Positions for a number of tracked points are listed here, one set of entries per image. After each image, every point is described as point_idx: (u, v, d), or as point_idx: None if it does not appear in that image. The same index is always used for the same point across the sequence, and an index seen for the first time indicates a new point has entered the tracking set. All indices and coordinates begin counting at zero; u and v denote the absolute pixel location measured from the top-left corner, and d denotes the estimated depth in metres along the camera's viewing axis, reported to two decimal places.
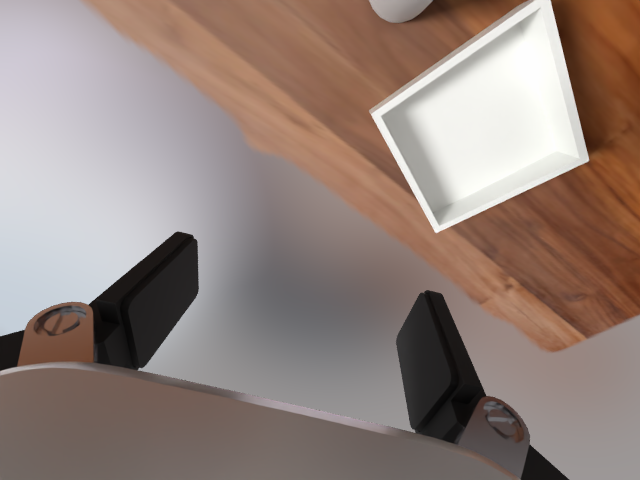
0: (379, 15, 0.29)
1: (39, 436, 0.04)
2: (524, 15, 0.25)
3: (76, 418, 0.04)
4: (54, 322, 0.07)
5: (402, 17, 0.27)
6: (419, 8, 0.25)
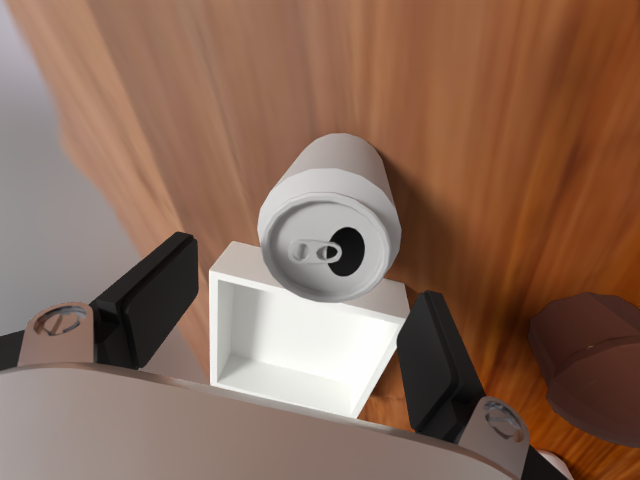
0: None
1: (39, 436, 0.04)
2: (385, 319, 0.24)
3: (76, 418, 0.04)
4: (54, 322, 0.07)
5: None
6: None
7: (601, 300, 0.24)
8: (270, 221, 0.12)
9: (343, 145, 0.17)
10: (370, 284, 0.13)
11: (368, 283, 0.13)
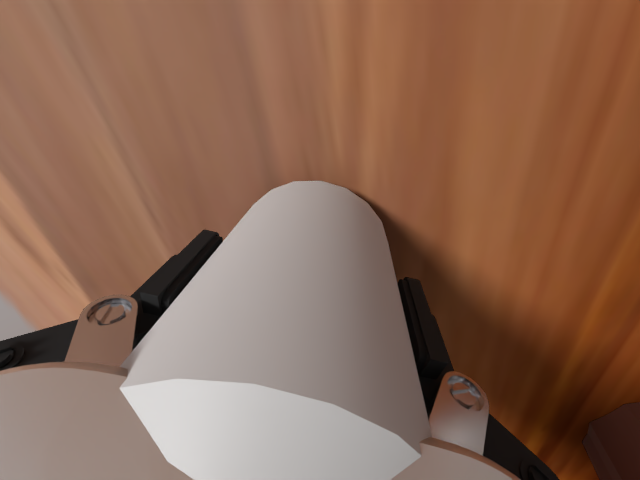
0: None
1: (39, 436, 0.04)
2: None
3: (76, 418, 0.04)
4: (103, 313, 0.07)
5: None
6: None
7: None
8: None
9: (307, 225, 0.08)
10: None
11: None
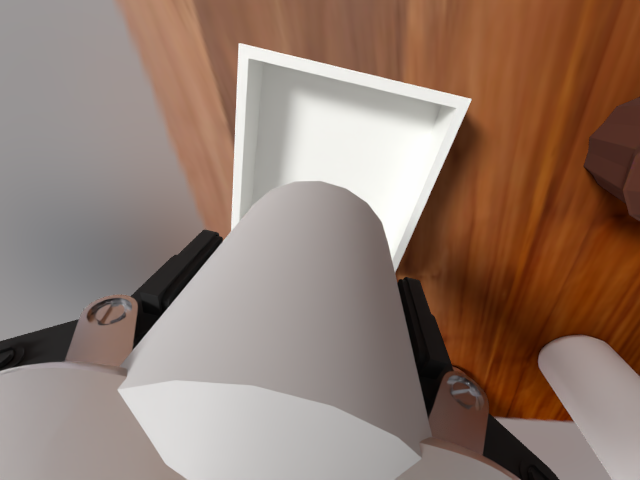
0: None
1: (39, 436, 0.04)
2: (441, 101, 0.21)
3: (76, 418, 0.04)
4: (104, 313, 0.07)
5: None
6: None
7: None
8: None
9: (307, 225, 0.08)
10: None
11: None
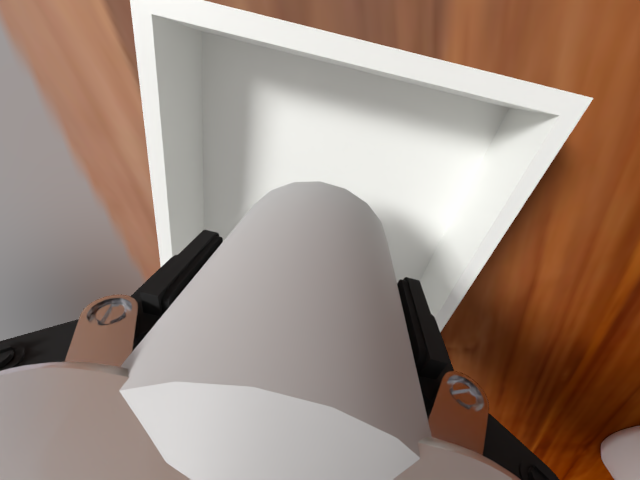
0: None
1: (39, 436, 0.04)
2: (530, 101, 0.11)
3: (76, 418, 0.04)
4: (104, 313, 0.07)
5: None
6: None
7: None
8: None
9: (307, 226, 0.08)
10: None
11: None
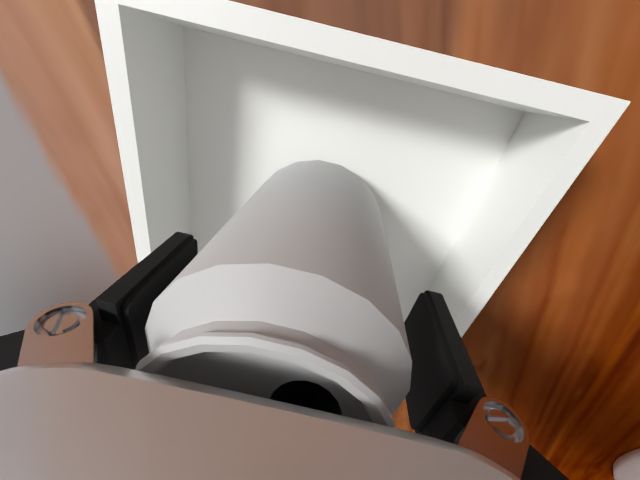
0: None
1: (39, 436, 0.04)
2: (557, 105, 0.09)
3: (76, 418, 0.04)
4: (54, 322, 0.07)
5: None
6: None
7: None
8: None
9: (306, 187, 0.10)
10: None
11: None
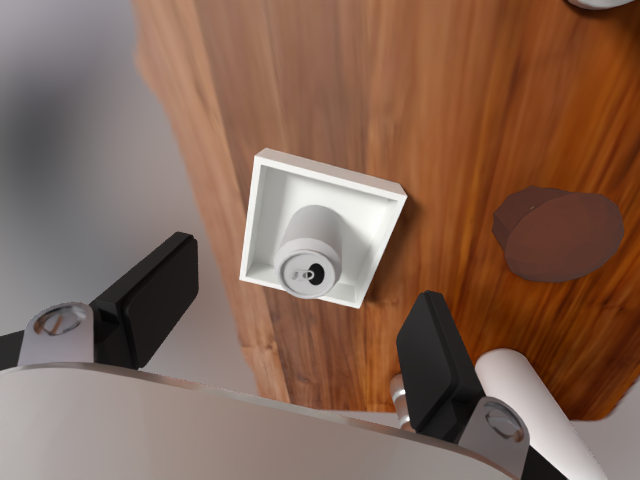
0: None
1: (39, 436, 0.04)
2: (388, 196, 0.31)
3: (76, 418, 0.04)
4: (54, 322, 0.07)
5: None
6: None
7: (541, 188, 0.33)
8: (281, 262, 0.28)
9: (314, 218, 0.32)
10: (328, 288, 0.29)
11: (327, 288, 0.29)
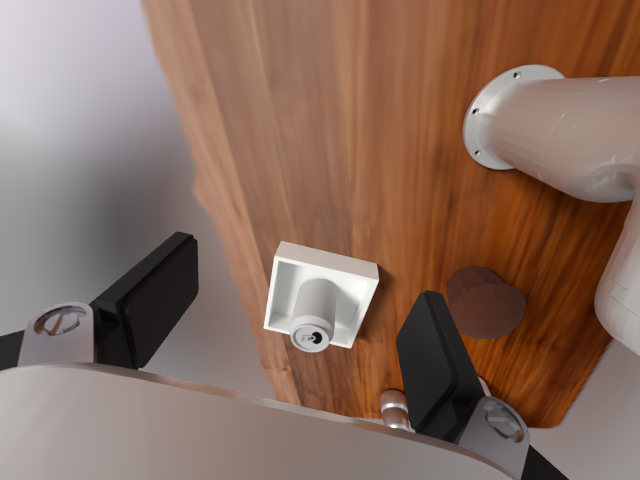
0: None
1: (39, 436, 0.04)
2: (365, 280, 0.46)
3: (76, 418, 0.04)
4: (54, 322, 0.07)
5: None
6: None
7: (477, 269, 0.47)
8: (293, 331, 0.42)
9: (315, 294, 0.47)
10: (325, 346, 0.43)
11: (324, 346, 0.44)
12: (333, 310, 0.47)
